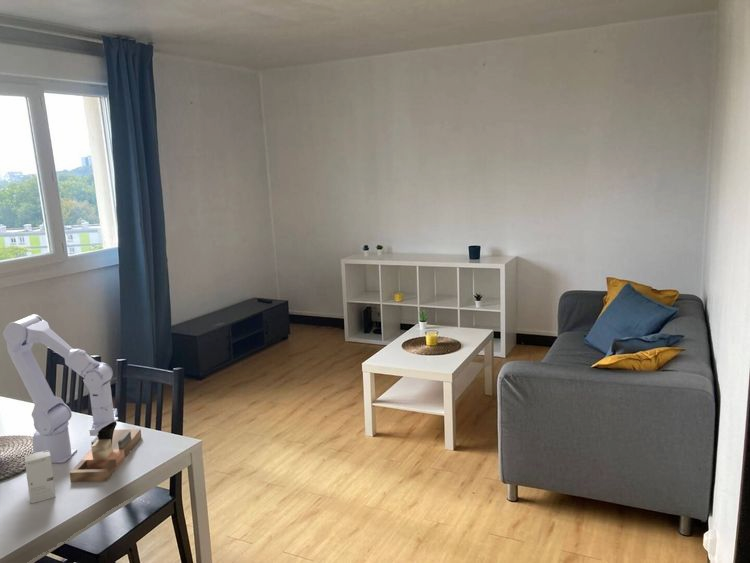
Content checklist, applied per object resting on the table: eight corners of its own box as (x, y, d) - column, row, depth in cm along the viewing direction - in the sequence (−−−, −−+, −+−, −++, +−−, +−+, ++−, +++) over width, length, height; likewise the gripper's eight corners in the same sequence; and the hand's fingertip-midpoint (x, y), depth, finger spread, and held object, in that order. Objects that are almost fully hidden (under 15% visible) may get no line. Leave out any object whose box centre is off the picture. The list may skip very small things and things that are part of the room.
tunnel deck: (70, 482, 167) (68, 464, 166) (110, 438, 193) (108, 422, 192) (106, 481, 167) (104, 463, 166) (141, 437, 193) (139, 421, 192)
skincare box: (30, 504, 156) (24, 462, 154) (29, 496, 160) (22, 455, 158) (56, 496, 160) (50, 455, 157) (55, 489, 163) (49, 448, 161)
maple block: (93, 458, 174) (91, 446, 173) (98, 451, 178) (97, 439, 177) (106, 458, 174) (105, 445, 173) (112, 451, 178) (110, 439, 177)
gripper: (105, 415, 169) (110, 458, 172) (125, 395, 183) (129, 435, 186) (80, 415, 169) (85, 459, 172) (102, 395, 183) (107, 436, 186)
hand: (107, 447), depth 179 cm, fingers closed
